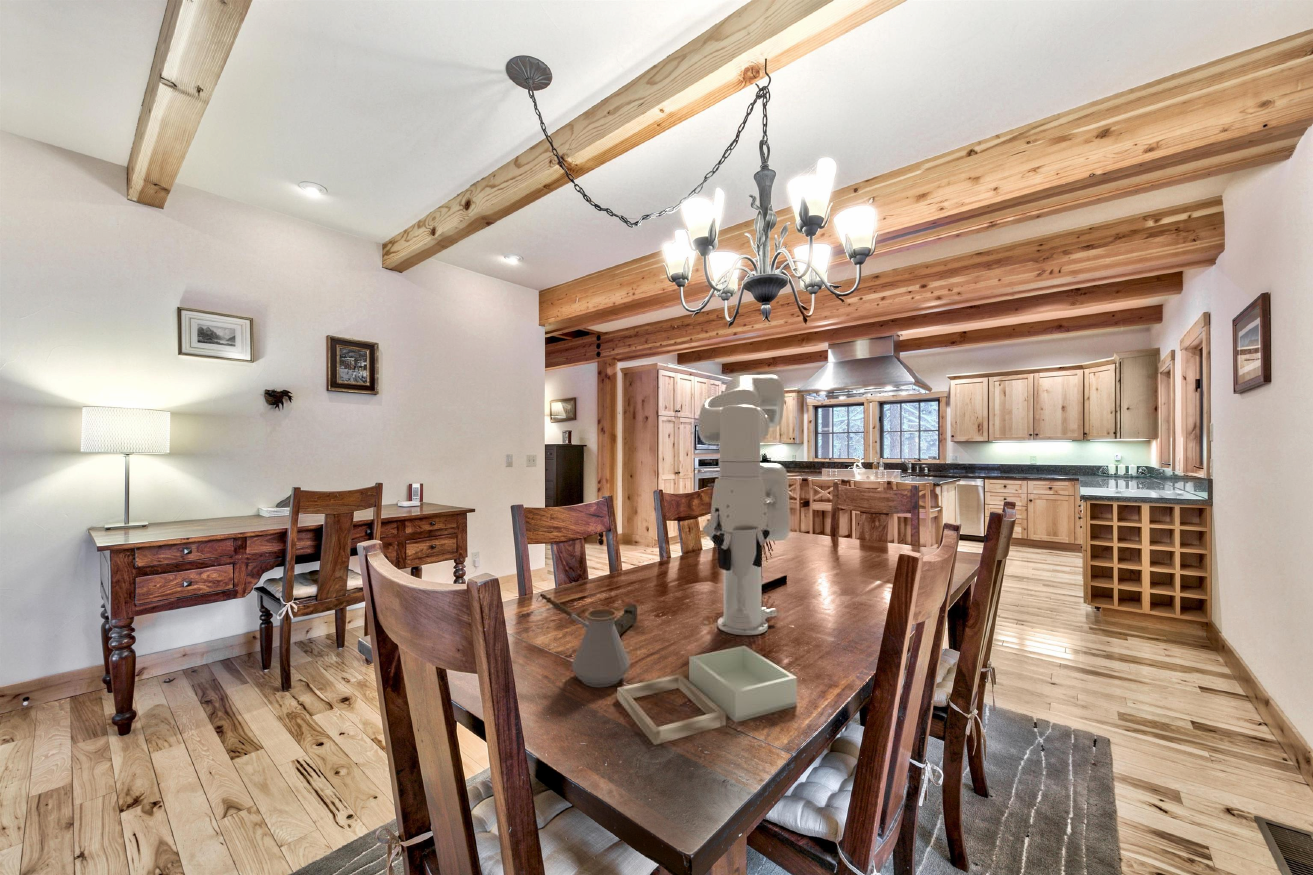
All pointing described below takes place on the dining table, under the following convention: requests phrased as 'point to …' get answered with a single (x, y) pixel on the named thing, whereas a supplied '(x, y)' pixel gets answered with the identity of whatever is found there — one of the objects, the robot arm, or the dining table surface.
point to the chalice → (741, 572)
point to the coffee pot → (598, 648)
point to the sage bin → (742, 682)
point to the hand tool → (626, 619)
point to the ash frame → (673, 730)
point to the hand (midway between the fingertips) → (740, 566)
